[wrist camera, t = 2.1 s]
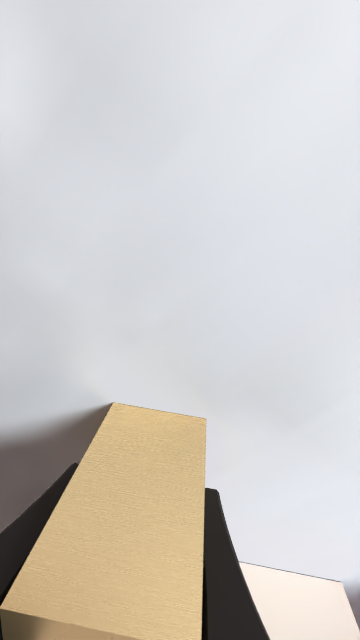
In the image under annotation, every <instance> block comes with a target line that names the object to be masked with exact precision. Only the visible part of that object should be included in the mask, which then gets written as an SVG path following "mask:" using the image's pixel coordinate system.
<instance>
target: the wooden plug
mask: <svg viewBox="0 0 360 640" xmlns="http://www.w3.org/2000/svg"><path fill="white" fill-rule="evenodd" d="M205 452H206V419H204V418H198V417H193V416H187V415H181V414H175V413H170V412H164V411H158V410H153V409H147V408H141V407H135V406H130V405H124V404H118V403H113V404H112V406H111V408H110V410H109V411H108V413H107V415H106V417H105V419H104V420H103V422H102V424H101V426H100V428H99V429H98V431H97V433H96V435H95V437H94V438H93V440H92V442H91V444H90V446H89V448H88V449H87V451H86V453H85V455H84V457H83V458H82V460H81V462H80V464H79V466H78V467H77V469H76V471H75V473H74V475H73V476H72V478H71V480H70V482H69V484H68V485H67V487H66V489H65V491H64V493H63V494H62V496H61V498H60V500H59V502H58V504H57V505H56V507H55V509H54V511H53V513H52V514H51V516H50V518H49V520H48V522H47V523H46V525H45V527H44V529H43V531H42V532H41V534H40V536H39V538H38V540H37V541H36V543H35V545H34V547H33V549H32V550H31V552H30V554H29V556H28V558H27V559H26V561H25V563H24V565H23V567H22V569H21V570H20V572H19V574H18V576H17V578H16V579H15V581H14V583H13V585H12V587H11V588H10V590H9V592H8V594H7V596H6V597H5V599H4V601H3V603H2V605H1V606H0V617H1V626H2V635H3V640H201V631H202V586H203V541H204V497H205Z"/></svg>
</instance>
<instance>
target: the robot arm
mask: <svg viewBox="0 0 360 640" xmlns="http://www.w3.org/2000/svg"><path fill="white" fill-rule="evenodd" d="M78 466H79V464H77V463H74V464H72V465H71V466H70V467H69V468H68V469H67V470H66V471H65V473H64V474H63V475H62V476H61V477H60V478H59V479H58V480H57V481H56V482H55V483H54V484H53V485H52V486H51V487H50V488H49V489H48V490H47V491H46V492H45V493H44V494H43V495H42V496H41V497H40V498H39V499H38V500H37V501H36V502H35V503H34V504H32V505H31V506H30V507H29V508H28V509H27V510H26V511H25V512H24V513H23V514H22V515H21V516H20V517H19V518H18V519H16V520H15V521H14V522H13V523H12V524H11V525H10V526H8V527H7V528H6V529H5V530H4V531H3V532H2V533H0V606H1V605H2V603H3V601H4V599H5V597H6V596H7V594H8V592H9V590H10V588H11V587H12V585H13V583H14V581H15V579H16V578H17V576H18V574H19V572H20V570H21V569H22V567H23V565H24V563H25V561H26V559H27V558H28V556H29V554H30V552H31V550H32V549H33V547H34V545H35V543H36V541H37V540H38V538H39V536H40V534H41V532H42V531H43V529H44V527H45V525H46V523H47V522H48V520H49V518H50V516H51V514H52V513H53V511H54V509H55V507H56V505H57V504H58V502H59V500H60V498H61V496H62V494H63V493H64V491H65V489H66V487H67V485H68V484H69V482H70V480H71V478H72V476H73V475H74V473H75V471H76V469H77V467H78ZM0 640H3V635H2V626H1V617H0ZM201 640H270V638H269V636H268V633H267V631H266V629H265V627H264V625H263V622H262V620H261V618H260V615H259V613H258V611H257V608H256V606H255V603H254V601H253V599H252V596H251V594H250V591H249V588H248V586H247V583H246V581H245V578H244V576H243V573H242V570H241V567H240V565H239V562H238V559H237V556H236V553H235V550H234V547H233V544H232V541H231V538H230V535H229V531H228V528H227V524H226V521H225V517H224V513H223V509H222V505H221V501H220V496H219V492H218V491H217V490H215V489H210V488H205V497H204V541H203V586H202V631H201Z"/></svg>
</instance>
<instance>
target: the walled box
mask: <svg viewBox="0 0 360 640" xmlns="http://www.w3.org/2000/svg"><path fill="white" fill-rule="evenodd" d="M239 565H240V567H241V570H242V573H243V576H244V578H245V581H246V583H247V586H248V588H249V591H250V594H251V596H252V599H253V601H254V603H255V606H256V608H257V611H258V613H259V615H260V618H261V620H262V622H263V625H264V627H265V629H266V631H267V633H268V636H269V638H270V640H360V631H359V628H358V625H357V623H356V620H355V617H354V615H353V612H352V609H351V606H350V604H349V601H348V598H347V596H346V593H345V590H344V587H343V585H342V583H341V582H336V581H331V580H326V579H321V578H316V577H311V576H306V575H301V574H296V573H291V572H286V571H281V570H276V569H271V568H266V567H261V566H256V565H251V564H247V563H242V562H239Z"/></svg>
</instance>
